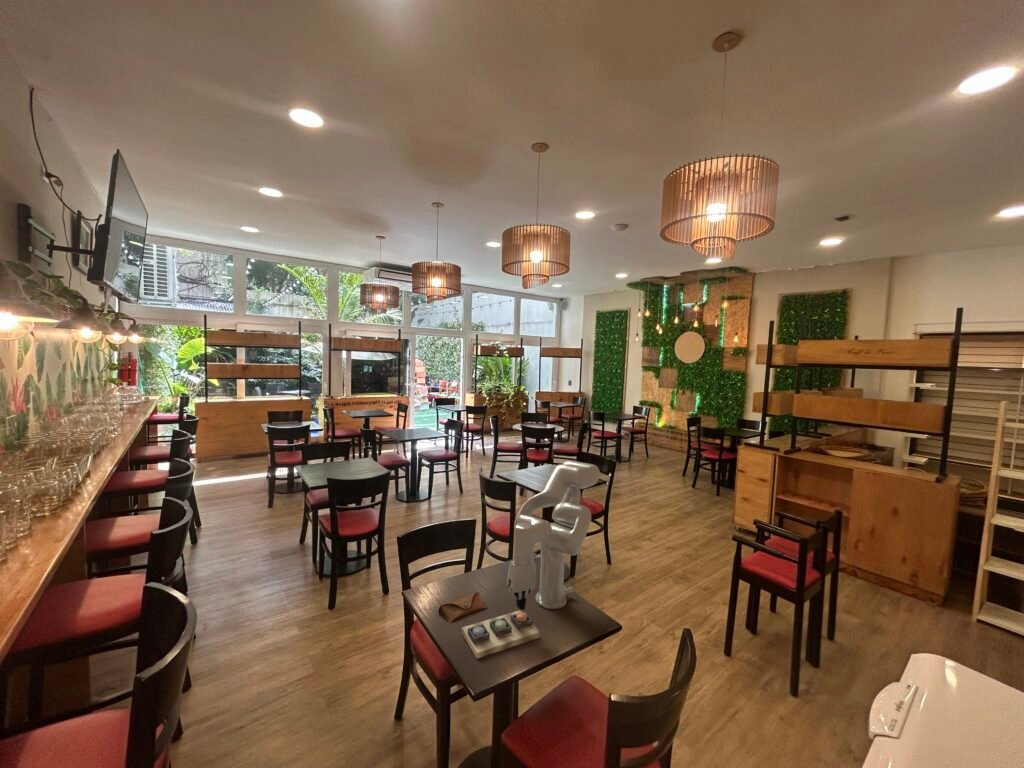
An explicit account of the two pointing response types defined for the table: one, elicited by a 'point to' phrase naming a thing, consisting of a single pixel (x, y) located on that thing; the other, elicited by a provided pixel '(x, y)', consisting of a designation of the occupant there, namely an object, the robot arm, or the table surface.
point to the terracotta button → (521, 617)
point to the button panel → (499, 634)
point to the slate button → (478, 631)
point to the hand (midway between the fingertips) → (520, 607)
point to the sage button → (500, 624)
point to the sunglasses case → (461, 607)
